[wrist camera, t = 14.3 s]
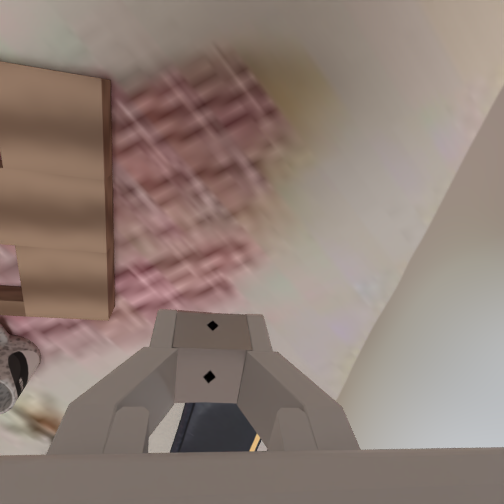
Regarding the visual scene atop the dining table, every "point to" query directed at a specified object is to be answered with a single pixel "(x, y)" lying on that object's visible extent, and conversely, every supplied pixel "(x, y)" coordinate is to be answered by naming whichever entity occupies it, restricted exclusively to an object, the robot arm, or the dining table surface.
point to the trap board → (57, 192)
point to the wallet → (214, 429)
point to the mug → (15, 367)
